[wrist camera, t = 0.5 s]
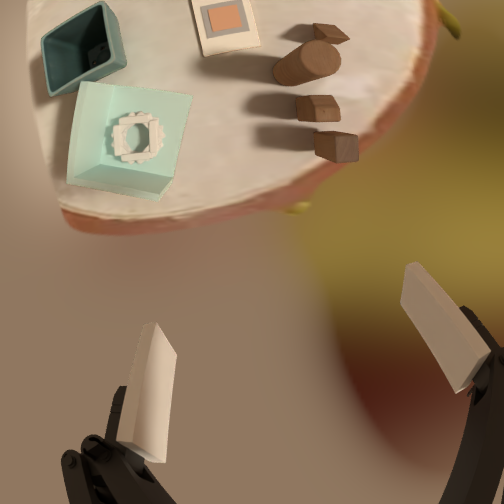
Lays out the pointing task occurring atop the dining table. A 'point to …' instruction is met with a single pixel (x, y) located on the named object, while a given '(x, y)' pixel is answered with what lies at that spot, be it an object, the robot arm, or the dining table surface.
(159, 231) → the dining table surface
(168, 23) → the dining table surface
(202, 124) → the dining table surface
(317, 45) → the wooden block set
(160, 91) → the right angle wall
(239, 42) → the card
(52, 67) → the flower pot
